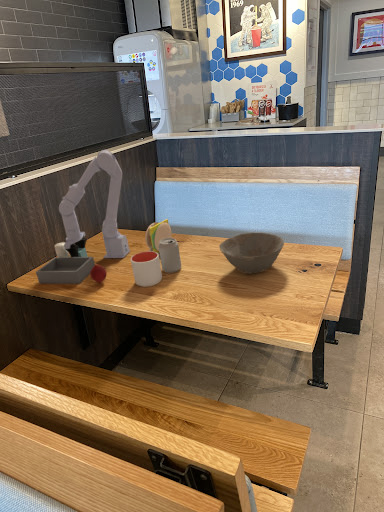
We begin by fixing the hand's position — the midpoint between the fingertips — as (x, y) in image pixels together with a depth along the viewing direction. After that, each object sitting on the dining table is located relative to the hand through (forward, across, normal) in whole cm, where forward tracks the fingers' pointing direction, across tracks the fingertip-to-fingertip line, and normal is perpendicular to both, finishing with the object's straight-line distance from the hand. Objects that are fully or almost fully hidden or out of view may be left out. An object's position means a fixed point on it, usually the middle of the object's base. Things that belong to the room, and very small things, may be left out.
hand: (79, 257), depth 169 cm
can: (+2, +9, +44) cm, 45 cm away
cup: (+2, +19, +38) cm, 43 cm away
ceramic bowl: (+2, +9, +75) cm, 76 cm away
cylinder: (+2, -2, -9) cm, 9 cm away
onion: (+2, +20, +19) cm, 28 cm away
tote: (+1, +14, +2) cm, 14 cm away
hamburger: (+2, -11, +33) cm, 35 cm away
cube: (+1, 0, 0) cm, 1 cm away
